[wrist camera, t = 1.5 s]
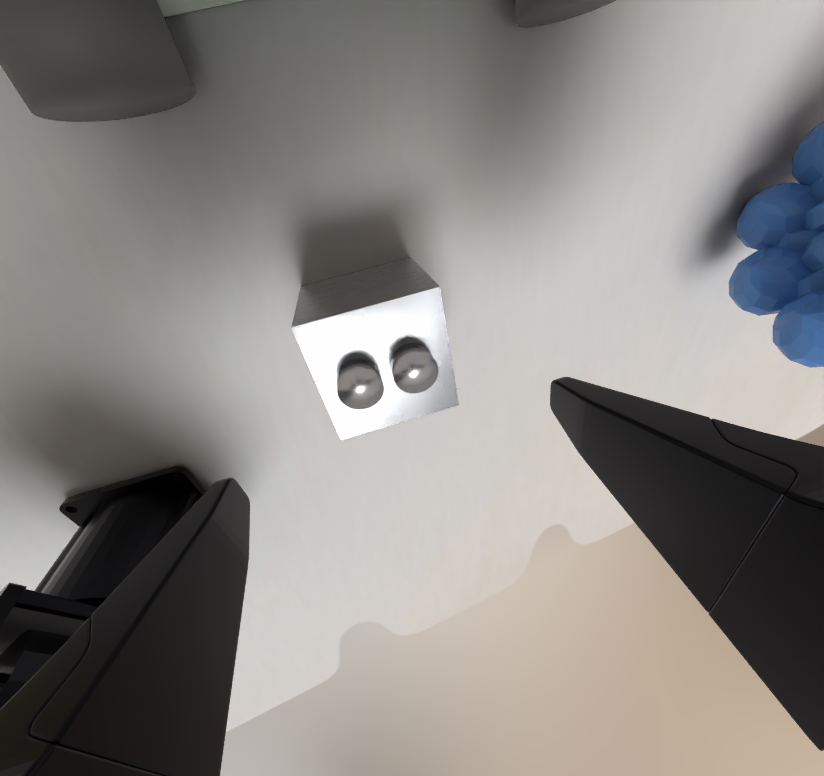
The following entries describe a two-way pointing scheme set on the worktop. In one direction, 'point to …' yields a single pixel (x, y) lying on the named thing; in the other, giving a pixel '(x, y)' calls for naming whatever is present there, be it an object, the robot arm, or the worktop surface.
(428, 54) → the worktop surface
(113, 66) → the chassis
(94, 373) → the worktop surface
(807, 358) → the grapes
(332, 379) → the block
